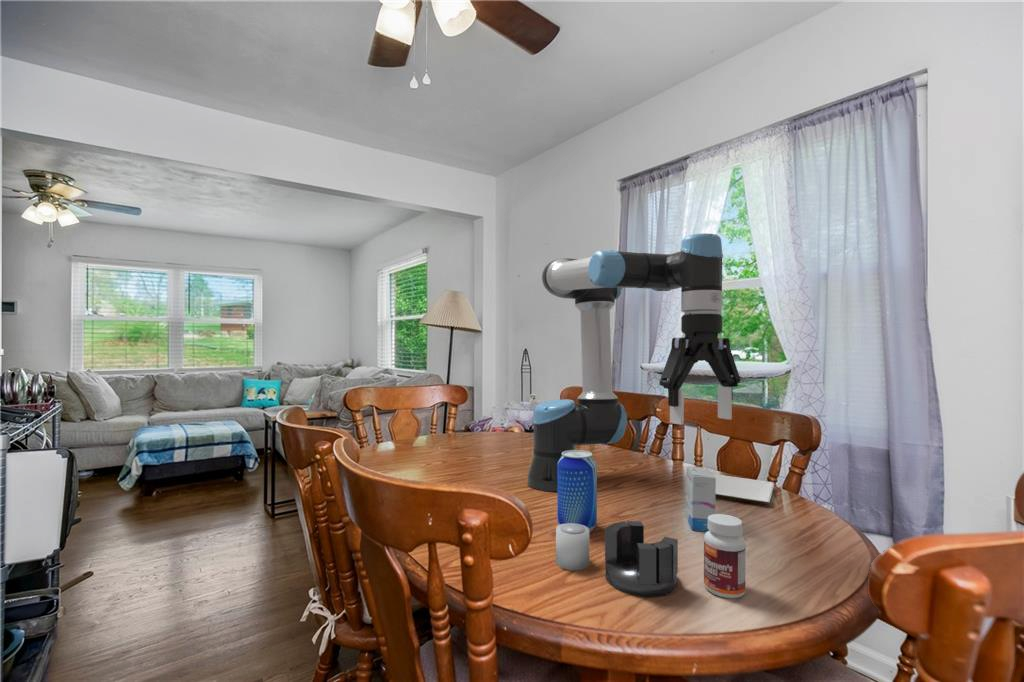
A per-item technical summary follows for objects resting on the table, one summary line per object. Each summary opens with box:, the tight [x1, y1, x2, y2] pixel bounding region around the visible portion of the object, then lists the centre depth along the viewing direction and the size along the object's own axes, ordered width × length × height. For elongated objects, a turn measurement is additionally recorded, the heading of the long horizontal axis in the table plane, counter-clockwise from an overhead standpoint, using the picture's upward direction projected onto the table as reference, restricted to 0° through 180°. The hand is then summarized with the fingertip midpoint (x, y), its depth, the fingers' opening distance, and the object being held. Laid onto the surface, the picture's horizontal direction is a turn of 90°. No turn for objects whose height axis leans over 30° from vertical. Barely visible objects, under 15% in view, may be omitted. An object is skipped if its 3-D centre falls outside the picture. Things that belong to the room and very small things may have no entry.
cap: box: [555, 523, 590, 571], centre depth 86 cm, size 6×6×6 cm
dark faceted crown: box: [604, 520, 679, 598], centre depth 80 cm, size 12×12×8 cm
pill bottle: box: [703, 513, 746, 599], centre depth 76 cm, size 6×6×11 cm
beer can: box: [556, 449, 598, 533], centre depth 102 cm, size 8×8×16 cm
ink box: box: [684, 465, 716, 532], centre depth 104 cm, size 9×5×12 cm, turn 168°
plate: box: [712, 473, 775, 505], centre depth 127 cm, size 19×19×2 cm
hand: (701, 421), depth 93 cm, fingers open, 13 cm apart
